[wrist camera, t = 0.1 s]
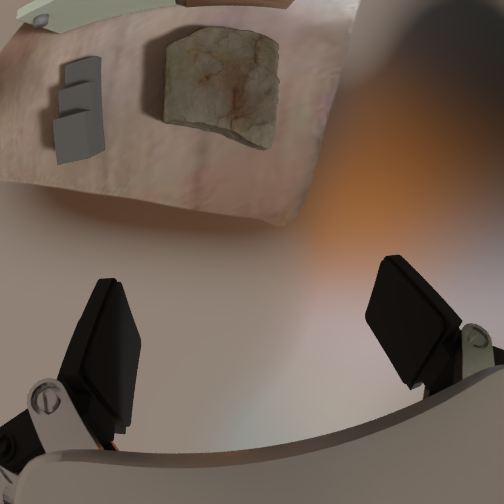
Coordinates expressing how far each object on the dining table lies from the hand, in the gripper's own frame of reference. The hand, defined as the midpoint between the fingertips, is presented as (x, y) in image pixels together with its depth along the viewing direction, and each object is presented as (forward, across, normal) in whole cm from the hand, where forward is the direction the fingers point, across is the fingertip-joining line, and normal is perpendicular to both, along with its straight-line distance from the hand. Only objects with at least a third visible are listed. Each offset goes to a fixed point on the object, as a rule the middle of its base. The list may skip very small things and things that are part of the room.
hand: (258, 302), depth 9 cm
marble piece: (+32, 0, -9) cm, 33 cm away
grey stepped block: (+31, +19, -9) cm, 38 cm away
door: (+31, +15, -23) cm, 41 cm away
